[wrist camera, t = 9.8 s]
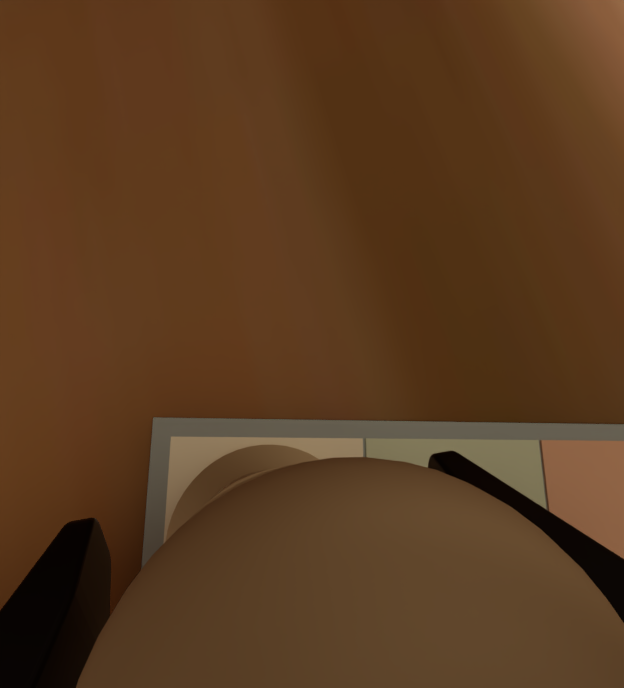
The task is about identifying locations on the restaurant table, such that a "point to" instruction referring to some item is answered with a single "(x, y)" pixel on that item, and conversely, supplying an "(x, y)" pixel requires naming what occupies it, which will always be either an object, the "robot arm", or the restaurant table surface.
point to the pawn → (353, 587)
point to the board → (412, 460)
